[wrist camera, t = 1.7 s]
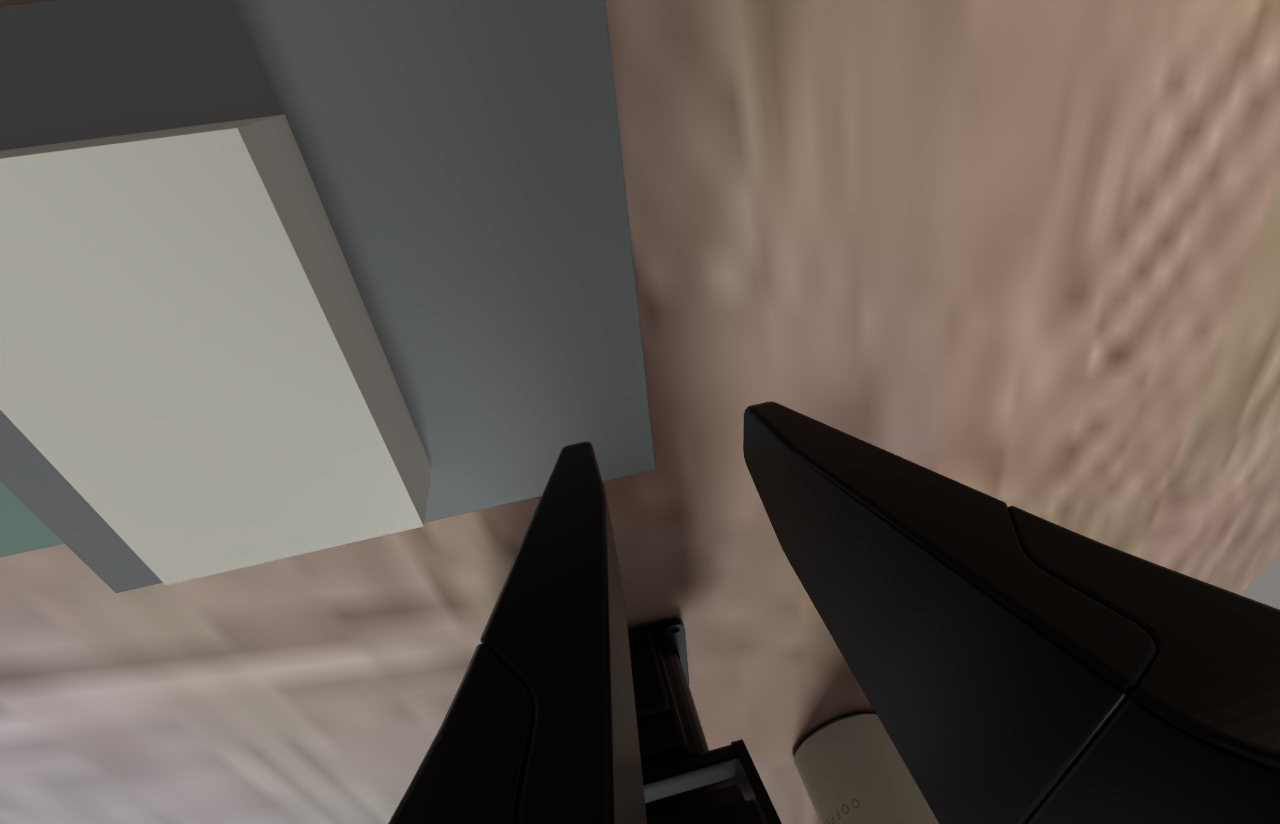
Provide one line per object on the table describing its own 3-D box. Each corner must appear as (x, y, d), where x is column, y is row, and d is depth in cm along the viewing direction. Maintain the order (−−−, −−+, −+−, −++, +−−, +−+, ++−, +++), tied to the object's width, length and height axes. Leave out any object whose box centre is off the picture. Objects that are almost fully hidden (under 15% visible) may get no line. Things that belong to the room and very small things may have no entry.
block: (432, 467, 16) (423, 526, 14) (208, 515, 15) (165, 585, 13) (284, 114, 10) (237, 128, 8) (-69, 159, 10) (-211, 186, 8)
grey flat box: (629, 404, 21) (655, 469, 18) (181, 499, 19) (116, 593, 15) (572, -27, 13) (599, -53, 10) (-179, 50, 11) (-449, 49, 8)
